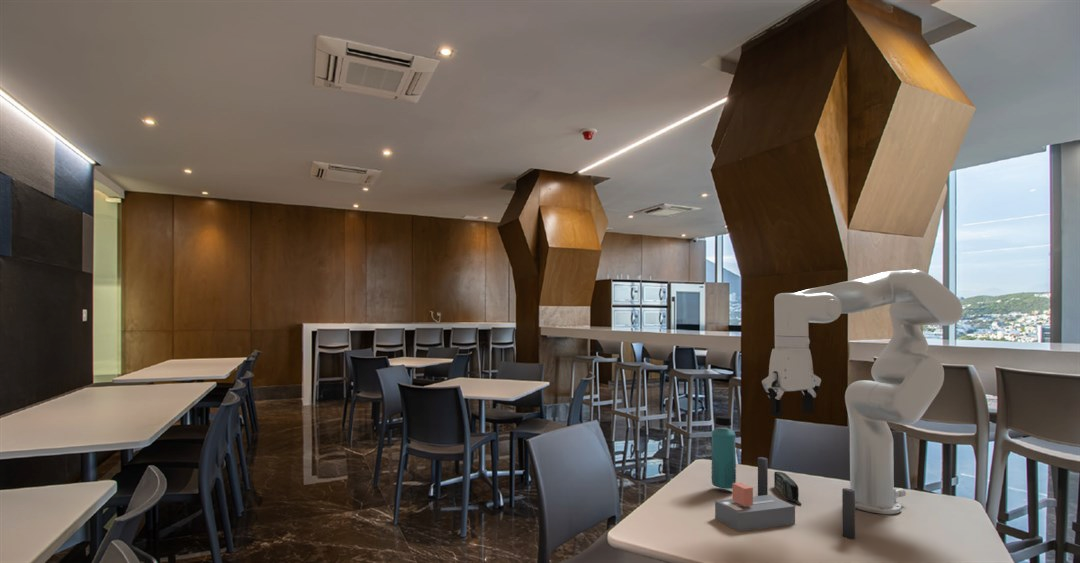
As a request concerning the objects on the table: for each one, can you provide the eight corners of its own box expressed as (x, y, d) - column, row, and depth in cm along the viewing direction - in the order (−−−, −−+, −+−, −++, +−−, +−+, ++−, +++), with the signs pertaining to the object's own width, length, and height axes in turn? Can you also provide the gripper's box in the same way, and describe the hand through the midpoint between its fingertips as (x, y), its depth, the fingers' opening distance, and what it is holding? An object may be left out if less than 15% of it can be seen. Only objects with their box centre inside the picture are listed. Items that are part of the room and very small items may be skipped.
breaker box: (769, 511, 131) (769, 494, 131) (795, 523, 124) (795, 505, 124) (715, 518, 126) (715, 500, 126) (738, 531, 118) (738, 512, 118)
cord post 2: (848, 533, 119) (847, 487, 119) (857, 538, 116) (857, 491, 117) (839, 535, 118) (839, 488, 118) (849, 539, 115) (849, 492, 116)
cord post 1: (762, 495, 143) (763, 456, 144) (769, 498, 141) (769, 459, 141) (755, 495, 142) (755, 457, 143) (762, 498, 140) (762, 460, 141)
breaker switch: (740, 499, 126) (740, 482, 126) (752, 505, 122) (752, 487, 122) (732, 500, 125) (732, 483, 125) (744, 506, 121) (744, 488, 122)
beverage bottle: (738, 495, 142) (738, 419, 143) (712, 493, 143) (712, 417, 144) (734, 487, 148) (734, 415, 149) (709, 485, 150) (709, 413, 151)
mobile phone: (772, 469, 151) (791, 485, 136) (783, 470, 151) (804, 486, 136) (772, 487, 150) (792, 505, 136) (783, 488, 150) (804, 506, 135)
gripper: (806, 342, 137) (807, 409, 136) (751, 342, 131) (752, 413, 130) (831, 344, 130) (832, 415, 129) (774, 345, 124) (775, 419, 123)
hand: (792, 414), depth 130 cm, fingers open, 9 cm apart
